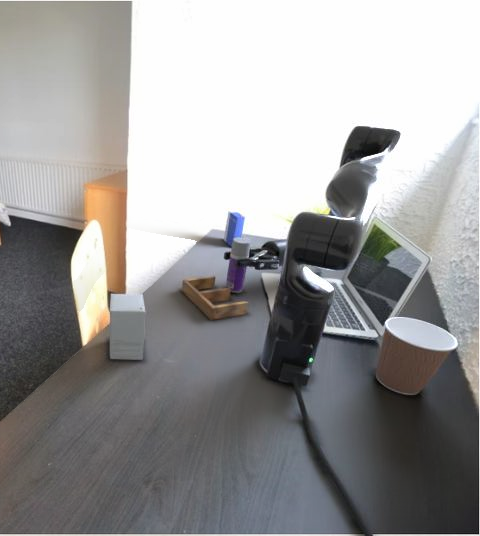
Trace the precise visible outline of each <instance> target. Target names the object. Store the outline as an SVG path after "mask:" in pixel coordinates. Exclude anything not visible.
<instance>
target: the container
mask: <svg viewBox="0 0 480 536" xmlns="http://www.w3.org/2000/svg"><path fill="white" fill-rule="evenodd" d="M251 242H252V240H251V239H250V238H247V237H243V236H241V237H237V238H234V239H233V244H232V247H231V248H230V251H231V254H230V260H228V261H229V262H228V267H227V272H226V281H225V285H224V288H230V289H231V291H230V293H236V294H237V293H242V292H243V290H244V285H245V280H246V279H245V278H246V273H247V268H248V266H247V267H240V268H237V267H235V262H236V260H237V259H244V258H248V257H249V251H250V247H251V244H252V243H251Z"/></svg>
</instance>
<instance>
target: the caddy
mask: <svg viewBox="0 0 480 536" xmlns="http://www.w3.org/2000/svg"><path fill="white" fill-rule="evenodd" d="M216 279H217V277H216V276H215V275H209V276H201V277H193V278H186V279H182V281H181V282H182V283H181V291H182V293H183V294H184V295H185V296H186V297H188V299H189V300H190V301H191V302H192V303H194V304H195V306H197V308H199V310H201V311H202V313H204V314H205V315H206V316H207V317H208V319H210V321H213V320H220V319H225V318H232V317H238V316H243V315H247V311H248V305H249V302H248V301H246V300H244V301H243V300H242V301H237V302H230V303H223V304H217V305H214V304H213V303H219V302H225V301H230V297H231V292H230V291H231V289H230V288H225V287H223V288H216V289H214V288H215V284H216ZM207 289H208V290H207ZM199 290H200V291H199ZM201 290H202V291H201Z"/></svg>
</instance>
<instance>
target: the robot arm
mask: <svg viewBox="0 0 480 536" xmlns="http://www.w3.org/2000/svg"><path fill="white" fill-rule="evenodd" d="M406 140H407V139H406V133H405V131H404V130H402V129H400V128H398V127H392V126H383V125H375V124H374V125H373V124H363V123H362V124H357V125H355V126H354V127H353V128H352V129H351V131H350V132H349V134H348V136H347V138H346V140H345V142H344V146H343V147H342V151H341V156H340V161H339V166H338V169H337V170H336V172H335V173H334V174H333V176H332V177H331V179H330V181H329V182H328V184H327V186H326V187H325V193H324V198H325V201H326V205H327V207H328V208H329V211H328V213H327V214H326V213H319V212H313V211H301V212H299V213H298V214H296V215H295V217H294V218H293V219H292V221H291V223H290V225H289V229H288V232H287V235H286V238H284V239H276V240H268V241H266V242H264V244H262V246H250V251H249V257H248V258H244V259H237V260H236V262H235V267H237V268H240V267H247V268H251V269H252V268H254V270H256V271H269V270H270V271H276V270H278V269H279V267H281V270H280V273H279V279H278V285H277V288H276V292H275V297H274V300H273V303H272V304H273V305H272V309H271V313H270V317H269V321H268V326H267V329H266V334H265V338H264V342H263V346H262V347H263V348H262V351H261V356H260V357H259V361H258V363H259V364H258V365H259V367H260V369H261V370H262V371H263V373H264V374H266V378H267V379H270V380H274V381H278V382H282V383H285V384H288V385H293V389H294V394H295V397H296V400H297V404H298V407H299V410H300V414H301V416H302V420H303V423H304V426H305V429H306V432H307V435H308V437H309V440H310V442H311V445H312V447H313V449H314V451H315V453H316V456H317V457H318V459H319V460H320V462H321V463H320V464H321V465H322V466H323V467H324V469H325V472H327V474H328V476H329V478H330V479H331V481H332V482H333V484H334V486H335V487H336V488H337V490H338V492H339V494H340V496H341V498H342V499H343V501H344V502H345V504H346V506H347V507H348V509H349V511H350V513H351V514H352V515H353V519H355V521H356V523H357V525H358V526H359V528H360V530H361V532H362V534H363V535H364V536H374V534H373V533H372V530H371V529H370V527H369V526H368V524H367V523H366V521H365V519H364V517H363V516H362V514H361V512H360V510H359V509H358V507H357V505H356V503H355V502H354V501H353V499H352V498H351V495H350V494H349V492H348V491H347V489H346V487H345V485H344V484H343V482H342V481H341V479H340V478H339V476H338V475H337V473H336V472H335V470H334V468H333V467H332V465H331V464H330V462H329V461H328V459H327V457H326V455H325V454H324V451H323V450H322V447H321V446H320V444H319V442H318V439H317V436H316V434H315V432H314V429H313V426H312V423H311V419H310V417H309V414H308V411H307V407H306V404H305V400H304V398H303V394H302V390H301V387H302V386H304V387H307V386H308V383H309V381H310V377H311V374H312V373H311V372H312V369H313V367H314V366H313V365H314V362H315V359H316V356H317V353H318V349H319V346H320V343H321V340H322V337H323V333H324V332H325V331H324V330H325V328H326V325H327V321H328V318H329V316H330V311H331V310H332V306H333V302H334V299H335V296H336V290H335V288H334V286H333V285H332V284H331V283H330V282H329V281H327V280H326V279H324V278H323V277H321V276H319V275H318V274H316V273H315V272H314V271H313V270H312V269H310V268H309V267H314V268H318V269H323V270H325V271H326V270H327V271H333V272H345V271H346V270H347V271H348V269H350V268H351V267H352V266H353V265H354V263H355V262H356V260H357V259H358V257H359V255H360V253H361V250H362V247H363V244H364V241H365V237H366V233H367V230H368V227H369V224H370V221H371V218H372V215H373V213H374V211H375V210H376V207H377V205H378V203H379V202H380V199H382V198H381V197H382V195H383V193H384V191H385V187H386V185H387V182H388V178H389V177H390V173H391V171H392V169H393V168H394V166H395V165H396V164H397V161H398V159H399V158H400V156H401V154H402V152H403V151H404V147H405V146H406ZM230 254H231V250H229V251H225V252H224V254H223V259H224V260H225V261H229V260H230Z"/></svg>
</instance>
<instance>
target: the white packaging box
mask: <svg viewBox="0 0 480 536" xmlns="http://www.w3.org/2000/svg"><path fill="white" fill-rule="evenodd" d="M109 299H110V301H109V359H110V360H126V361H127V360H128V361H129V360H130V361H134V360H135V361H143V358H144V343H145V327H146V326H145V325H146V307H145V301H144V295H143V294H142V293H138V294H137V293H110V298H109Z"/></svg>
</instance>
